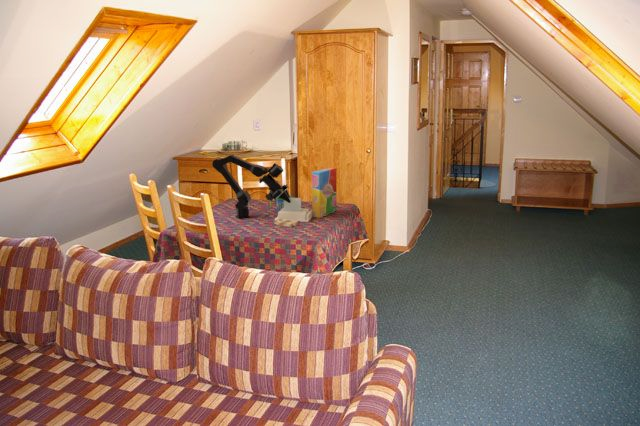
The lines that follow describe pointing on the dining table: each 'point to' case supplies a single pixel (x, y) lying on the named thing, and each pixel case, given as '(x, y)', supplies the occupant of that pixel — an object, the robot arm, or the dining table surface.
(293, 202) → the pale grey tapered slat
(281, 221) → the stand
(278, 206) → the snack cup
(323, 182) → the game box
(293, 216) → the rack
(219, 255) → the dining table surface
